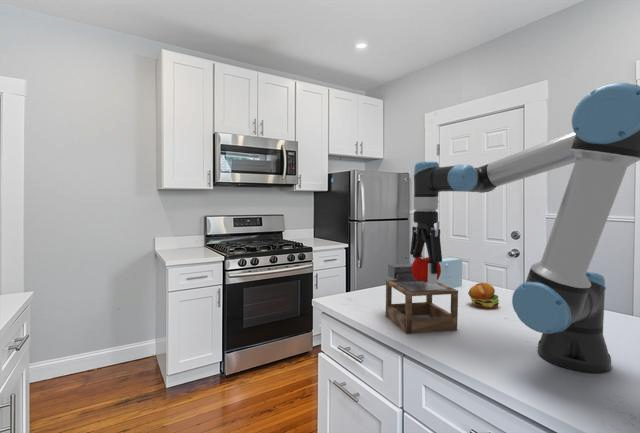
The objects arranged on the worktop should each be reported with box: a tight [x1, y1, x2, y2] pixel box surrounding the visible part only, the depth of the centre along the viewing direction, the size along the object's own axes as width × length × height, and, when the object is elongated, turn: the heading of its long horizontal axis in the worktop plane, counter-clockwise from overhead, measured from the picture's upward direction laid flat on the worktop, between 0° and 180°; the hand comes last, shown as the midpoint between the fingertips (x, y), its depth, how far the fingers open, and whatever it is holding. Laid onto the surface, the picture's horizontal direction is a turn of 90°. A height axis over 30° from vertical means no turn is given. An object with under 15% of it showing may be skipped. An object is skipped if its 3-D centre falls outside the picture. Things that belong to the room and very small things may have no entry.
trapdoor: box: [387, 262, 449, 292], centre depth 117 cm, size 19×13×6 cm
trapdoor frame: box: [385, 279, 459, 335], centre depth 114 cm, size 17×17×12 cm
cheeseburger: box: [467, 282, 500, 310], centre depth 132 cm, size 10×11×10 cm
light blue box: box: [437, 257, 463, 289], centre depth 159 cm, size 23×6×13 cm, turn 122°
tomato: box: [411, 256, 441, 283], centre depth 110 cm, size 9×9×8 cm
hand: (424, 280), depth 110 cm, fingers closed on tomato, 9 cm apart
